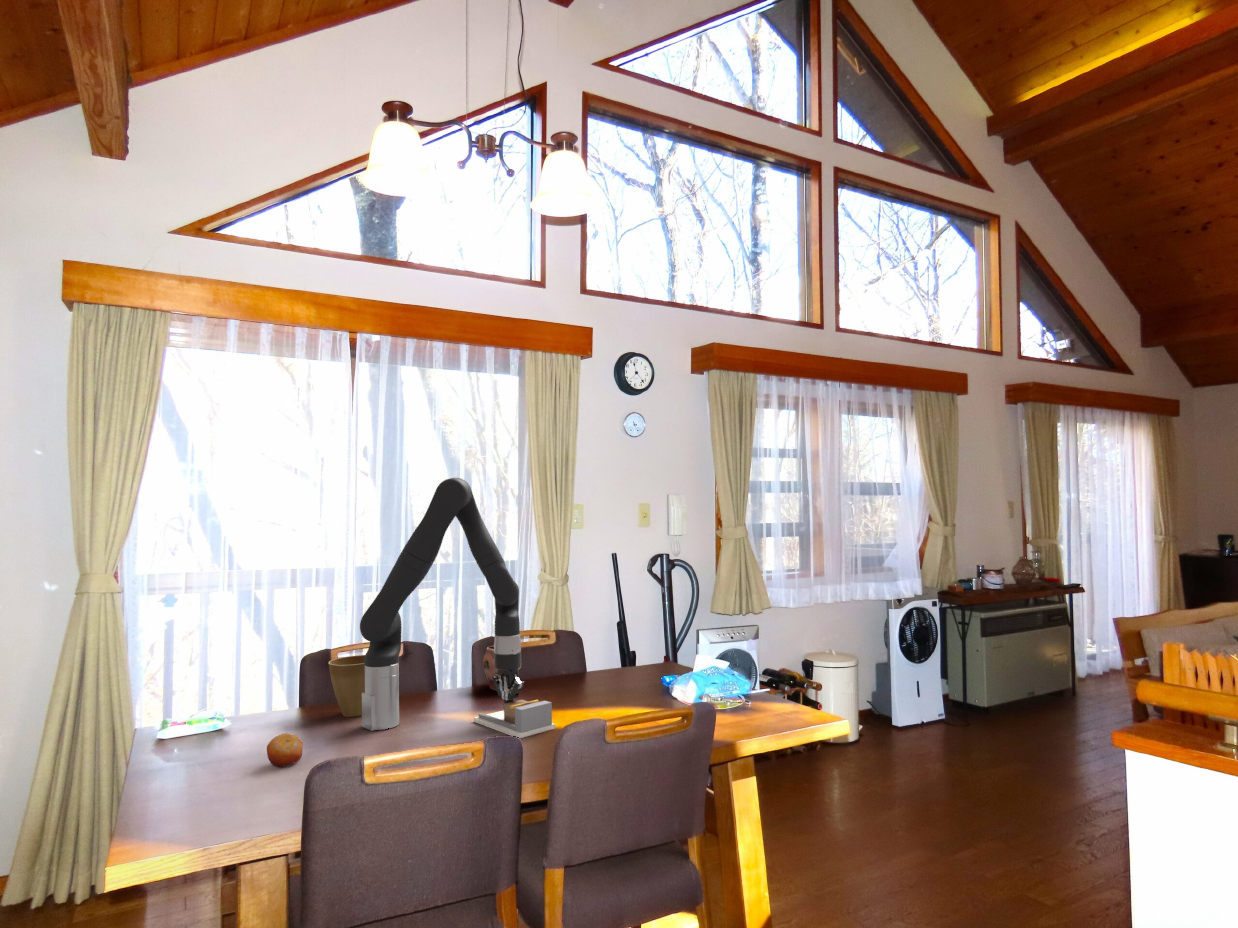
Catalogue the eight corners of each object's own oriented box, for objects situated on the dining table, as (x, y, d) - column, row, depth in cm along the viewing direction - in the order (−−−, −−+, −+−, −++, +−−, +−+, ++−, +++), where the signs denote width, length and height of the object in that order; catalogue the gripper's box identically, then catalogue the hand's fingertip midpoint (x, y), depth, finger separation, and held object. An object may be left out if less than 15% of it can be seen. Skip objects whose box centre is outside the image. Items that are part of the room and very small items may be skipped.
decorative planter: (472, 684, 260) (471, 643, 260) (504, 679, 267) (503, 639, 268) (498, 696, 244) (498, 652, 244) (532, 690, 251) (531, 647, 251)
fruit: (288, 749, 190) (296, 724, 188) (302, 771, 186) (310, 746, 184) (256, 758, 184) (264, 732, 182) (269, 781, 180) (278, 755, 177)
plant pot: (389, 706, 234) (388, 654, 235) (368, 720, 219) (368, 664, 220) (342, 706, 235) (342, 654, 236) (319, 720, 221) (319, 664, 221)
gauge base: (518, 738, 200) (518, 710, 200) (473, 721, 216) (473, 695, 216) (554, 728, 208) (554, 701, 208) (509, 712, 224) (508, 688, 224)
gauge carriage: (512, 727, 204) (511, 706, 205) (499, 723, 209) (499, 702, 209) (539, 720, 210) (538, 700, 211) (526, 716, 215) (526, 696, 215)
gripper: (483, 649, 217) (484, 710, 216) (510, 655, 207) (511, 720, 207) (505, 645, 222) (506, 705, 221) (532, 651, 212) (533, 714, 212)
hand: (508, 712), depth 214 cm, fingers closed
